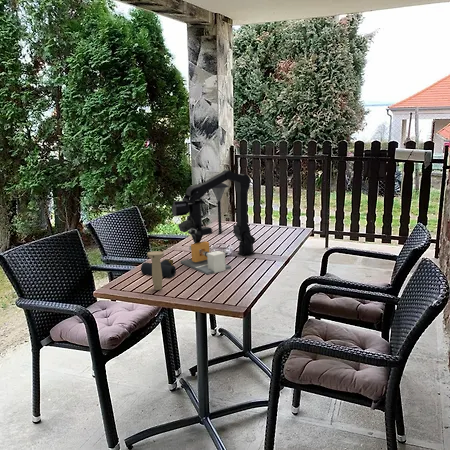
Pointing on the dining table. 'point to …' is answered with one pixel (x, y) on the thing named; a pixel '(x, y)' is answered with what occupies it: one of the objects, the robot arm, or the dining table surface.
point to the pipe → (201, 252)
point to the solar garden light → (218, 194)
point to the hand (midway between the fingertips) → (196, 246)
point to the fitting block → (216, 261)
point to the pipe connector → (166, 268)
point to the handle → (156, 268)
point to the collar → (195, 251)
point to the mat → (201, 266)
